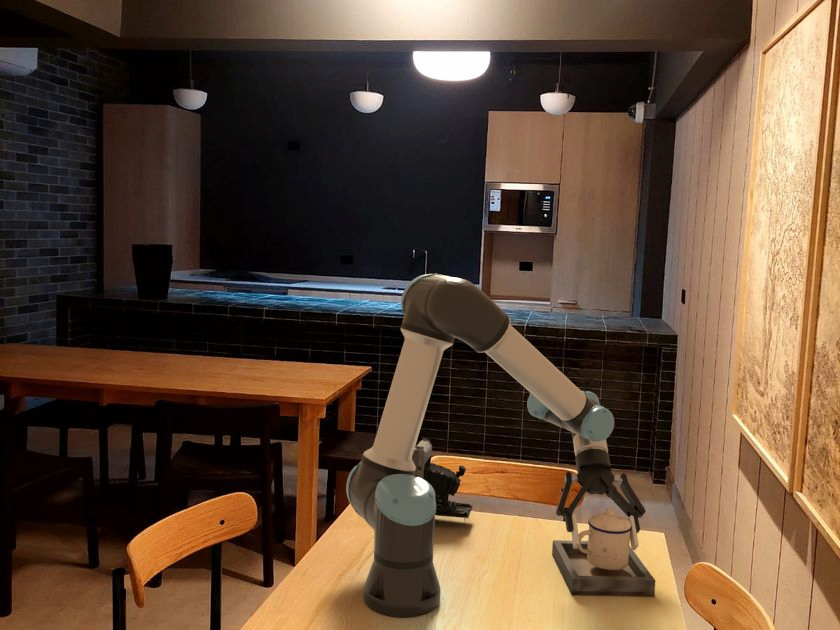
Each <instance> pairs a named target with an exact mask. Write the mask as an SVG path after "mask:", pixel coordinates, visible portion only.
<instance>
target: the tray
mask: <svg viewBox="0 0 840 630" xmlns="http://www.w3.org/2000/svg"><path fill="white" fill-rule="evenodd" d="M581 546H582V548H583V549H588V540H581ZM551 551H552V552H551V556H552V558H553V560H554V562H555V564H556V566H557V568H558V570H559V573H560V575H561V576H562V579H563V581H564V582H565V583H564V584H566V587H567V589H568V591H569V593H570V594H571V596H578V597H579V596H582V597H583V596H585V597H587V596H588V597H634V598H635V597H638V598H639V597H641V598H643V597H645V598H646V597H647V598H654V597H655V592H656V579H655V578H654V577H653V575H652V574H651V572H650V571H649V570H648V568H647V567H646V566H645V564H644V563H643V562H642V561H641V559H640V558H639V556H638V555H637V553H636V552H635V550H632V548H631V545H629V557H628V565H627V566H626V567H625V568H623V569H620V570H605V569H601V568H598V567H596V566H594V565H592V564H591V563H589V561H588V560H587V554H586V553H583V552H581V551H580V550H579V548H577V549H573V542H572V540H559V539H558V540H557V539H555V540H554V539H553V540H552V549H551Z"/></svg>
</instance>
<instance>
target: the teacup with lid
mask: <svg viewBox="0 0 840 630" xmlns="http://www.w3.org/2000/svg"><path fill="white" fill-rule="evenodd" d="M587 523H588V529H585V530H583V531H580V532H578V535H579V543H580V544H579V546H578V548H579V550H580V551H581V552H583V553H586V554H587V560H588V561H589V563H591V564H592V565H594V566H596V567H598V568H601V569H605V570H620V569H623V568H625V567H626V566H627V565H628V557H629V546H630V544H631V542H630V530H631V529H632V526H631V523H630V522H629V521H628V518H625V517H623V516H621V515H619V514H618V513H616V511H615V509H613V508H607V509H606V510H605V512H601V513H596V514H593V515H591V516H590V517H589V518H588V522H587ZM585 536H587V537H588V539H587V541H588V549H583V548H582V546H581V541H582V539H583V538H584V537H585Z"/></svg>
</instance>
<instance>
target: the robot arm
mask: <svg viewBox="0 0 840 630" xmlns="http://www.w3.org/2000/svg"><path fill="white" fill-rule="evenodd" d="M400 306H401V307H400V308H401V310H402V313H403V319H402V323H401V326H400V332H401V333H402V336H403V337H404V341H403V345H402V347H401V351H400V355H399V357H398V361H397V364H396V368H395V371H394V374H393V378H392V382H391V385H390V388H389V392H388V395H387V398H386V401H385V406H384V409H383V412H382V415H381V418H380V422H379V424H378V430H377V432H376V434H375V435H376V436H375V438H374V442H373V444H372V447H370V448H369V449H368V448H367V449H366V450H365V451H364V452H363V454H362V458H361V460H360V462H358V464H357V465H354V466H353V468H352V469H351V471H350V473H349V474H348V477H347V480H346V486H345V488H346V489H345V491H346V496H347V499H348V501H349V503H350V505H351V507H352V509H353V510H354V512H355V513H356V514H357V515H359V517H361V518H362V519H363V520H364V521H365V522H366V523H367V524H368V525H369V527H371V529H373V532H374V543H373V544H374V547H373V560H372V562H371V566H370V568H369V572H368V575H367V577H366V579H365V582H364V587H363V601H364V603H365V604H366V605H367V606H368V608H369V609H371V610H372V611H375V612H376V613H378V614H379V613H380V614H382V615H385V616H391V617H397V618H398V617H399V618H407V617H409V618H411V617H417V616H422V615H425V614H427V613H430V612H432V611H434V610H435V609H437V608H438V606H439V604H440V603H441V602H440V601H441V585H440V582H439V577H438V576H437V570H436V568H435V564H434V544H435V543H434V541H435V540H434V539H435V525H436V524H435V522H436V515H435V512H436V502H435V492H434V489H433V487H432V486H431V485H430V484H429V483H428V482H427V481H426V480H424V479H422V478H420V477H414V474H415V470H416V466H415V465H414V463H413V461H412V455H413V452H414V449H415V447H416V446H417V445H416V444H417V442H418V437H419V434H420V430H421V427H422V425H423V421H424V419H425V414H426V411H427V408H428V404H429V401H430V398H431V394H432V391H433V388H434V384H435V381H436V378H437V374H438V371H439V367H440V364H441V361H442V357H443V355H444V351H445V350H446V349H448V348H450V347H452V346H453V345H454V342H455V339H458V340H459V341H462V342H463V343H465V344H466V345H468V346H469V347H471V349H473V350H474V351H475V352H477V353H480V354H481V353H482V354H483V353H485V354H486V355H487V356H488V357H490V359H492V360H493V361H494V362H495V363H496V364H497V365H499V366H500V367H501V368H502V369H503V370H505V372H507V373H508V374H509V375H510V376H511V377H512V378H513V379H514V380H516V381H517V382H518V383H519V384H520V385H521V386H522V387H524V388H525V389H526V390H527V391H528V392H529V396H528V398H527V402H526V403H527V404H526V405H527V406H526V408H527V410H528V413H529V414H530V415H531V416H532V417H535V418H537V419H539V420H542V421H545V422H548V423H550V424H553V425H554V426H557V427H560V428H561V429H564V430H566V431H569V432H571V437H572V438H571V439H572V442H573V448H574V449H573V451H574V455H575V458H574V459H575V465H576V474H575V473H572V472H570V471H567V472H566V473H565V476H564V478H563V485H564V486H563V489H562V492H561V495H560V499H559V501H558V505H557V508H556V511H555V515H556V516H558V517H559V516H561V517H563V519H564V521H565V527H566V528H565V529H566V532H567V533H571V539H572V540H571V541H572V542H573V549H577V548H578V546H579V544H580V543H579V535H578V534H579V529H578V520H577V514H573V513H574V511H575V510H576V509H577V507H578V505H579V504H580V503H581V501H582V500H583V498H584V496H585V495H586V493H588V494H589V495H596V494H597V495H601V496H602V495H606V496H607V497H608V498H609V499H611V500H612V501H613V502H614V504H615V505H617V506H618V508H619V509H620V510H621V511H622V512H623V513H624V514H625V516H626V517H628V518H627V520H628V521H629V522H630V523H631V526H632V529H631V530H630V547H631V548H632V550H633V551H636V550H637V549H638V547H639V545H640V543H639V539H638V538H639V537H638V534H639V533H640V530H641V528H640V521H639V518H642V517H643V516H644V515H645V514H646V509H645V507H644V506H643V504H642V502H641V500H640V499H639V497H638V495H637V494H636V493H635V491H634V490H633V487H632V486H631V485H630V483H629V479H628V477H627V473H625V472H624V473H621V475H620V474H619V475H614V473H613V472H612V467H611V462H610V461H611V460H610V455H609V449H608V443H607V439H608V438H609V437H610V436H611V434H612V432H613V430H614V427H615V417H614V415H613V413H612V412H611V410H609V409H608V408H606V407H604V406H603V405H601V404H600V399H599V398H598V395H597V394H595V393H594V392H592V391H588V390H587V391H585V390H581V389H580V388H579V387H578V386H576V384H574V383H573V382H572V381H571V380H570V379H569V378H568V377H567V376H566V375H565V374H564V373H563V372H562V371H561V370H559V369H558V368H557V367H556V366H555V365H554V363H553V362H551V361H550V360H548V358H547V357H545V356H544V355H543V354H542V352H540V351H539V349H537V348H536V347H535V346H534V345H532V343H531V342H530V341H529V340H528V339H526V338H525V337H524V336H523V335H522V334H521V333H520V332H519V331H517V329H516V328H514V327H513V326H512V325H511V318H510V316H509V314H507V313H506V312H505V311H504V310H503V309H502V308H501V307H499V305H497V304H496V303H495V302H494V300H492V299H491V298H490V296H488V295H487V293H485V292H484V291H483V290H481V288H479V287H478V286H477V285H475V284H474V283H472V282H471V281H469V280H468V279H464V278H460V277H455V276H454V277H453V276H449V275H443V274H440V273H439V274H438V273H429V274H428V273H427V274H422V275H419V276H417V277H415V278H413V279H412V280H411V281H409V282H408V284H407V285H406V287H405V288H404V290H403V293H402V294H401V301H400ZM575 481H576V482H577V483H578V484H579V486H580V487H581V488H580V490H579V491H578V492H577V494H576V495H575V497H574V499H573V500H572V502H571V503H570V504H569V506H568V508H565V507H566V506H565V505H566V503H567V499H568V497H569V494H570V490H571V487H572V485H573V484H574V483H575ZM614 482H615V483H616V484H617V486H619V488H620V490H621V492H622V493H623V495H624V496H623V495H622V494H621V493H620V491H618V489H617V487H616V486H615V485H614V484H613V483H614Z"/></svg>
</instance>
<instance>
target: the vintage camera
mask: <svg viewBox="0 0 840 630" xmlns="http://www.w3.org/2000/svg"><path fill="white" fill-rule="evenodd" d="M432 451H433V445H432V443H431V441H430V440H429V439H428V438H422V440H420V441H419V442H418V444H417V445H415V448H414V452H413V455H412V461H413V463H414V465H415V466H416V470H415V474H414V477H420V478H422V479H424V480H426V481H427V482H428V483H429V484H430V485H431V486H432V487H433V489H434V492H435V502H436V512H435V516H437V517H447V518H448V517H450V518H460V519H461V518H463V520H464V521H466V519H469V518H470V514H471V512H472V511H473V510H472V509H473V507H474V506H473V505H471V503H467V502H466V503H463V502H456V501H455V500H454V501H451V500H449V496H451V497H454V496H455V495H456V494H457V492H458V490H459V488H460V485H461V481H462V479H460V477H464V476H465V473H466V471H467V468H466V467H465V466H464V465H459V467H458V470H457V471H452V470H451V469H450V468H448V467H444V466H442V465H440V464H436V463H433V462H432V461H431V460H432Z"/></svg>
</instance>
